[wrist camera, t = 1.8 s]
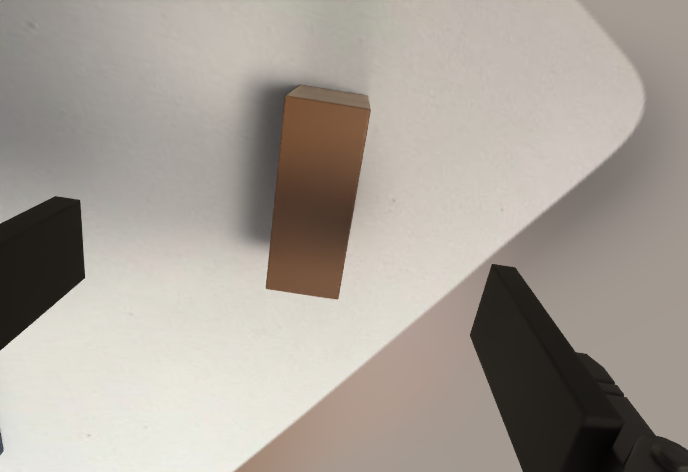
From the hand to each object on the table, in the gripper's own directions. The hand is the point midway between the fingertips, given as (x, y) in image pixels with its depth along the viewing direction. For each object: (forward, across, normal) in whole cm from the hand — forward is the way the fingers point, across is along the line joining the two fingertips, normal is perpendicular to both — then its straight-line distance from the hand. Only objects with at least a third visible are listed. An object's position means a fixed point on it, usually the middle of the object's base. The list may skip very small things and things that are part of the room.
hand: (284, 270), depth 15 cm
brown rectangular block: (+11, 0, 0) cm, 11 cm away
